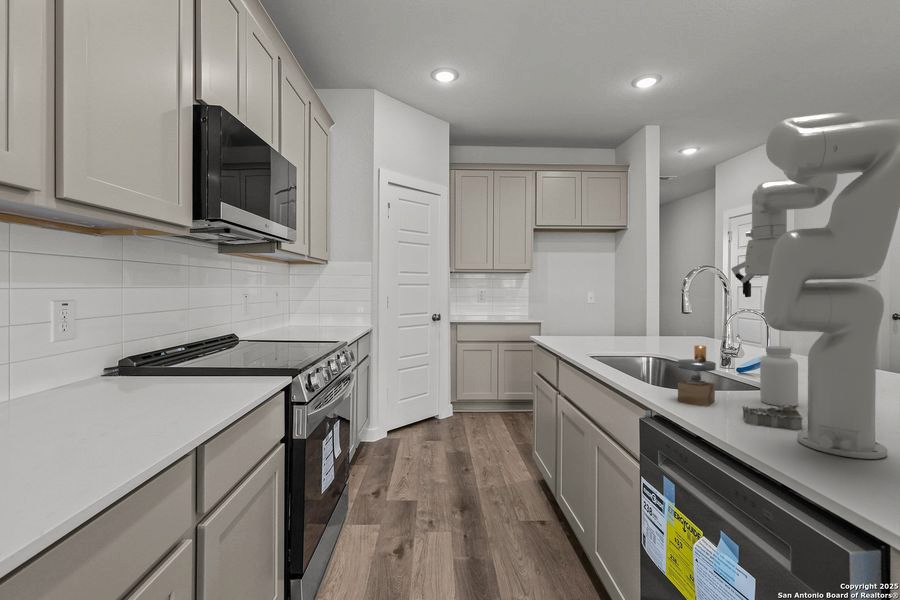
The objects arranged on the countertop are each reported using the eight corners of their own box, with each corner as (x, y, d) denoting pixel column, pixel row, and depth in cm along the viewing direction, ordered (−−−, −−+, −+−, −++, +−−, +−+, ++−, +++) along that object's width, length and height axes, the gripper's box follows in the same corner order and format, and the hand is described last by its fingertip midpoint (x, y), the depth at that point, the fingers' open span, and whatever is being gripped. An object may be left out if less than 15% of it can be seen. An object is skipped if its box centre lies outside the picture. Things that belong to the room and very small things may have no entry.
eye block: (706, 406, 110) (706, 385, 110) (677, 401, 115) (677, 381, 115) (714, 401, 115) (714, 381, 115) (686, 396, 120) (686, 377, 120)
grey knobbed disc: (710, 384, 108) (710, 350, 108) (672, 379, 115) (672, 347, 115) (720, 379, 115) (720, 346, 115) (684, 374, 122) (684, 344, 122)
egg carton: (798, 423, 96) (798, 405, 96) (804, 432, 90) (804, 413, 90) (741, 416, 102) (741, 399, 102) (743, 424, 96) (743, 406, 96)
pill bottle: (753, 401, 114) (753, 346, 114) (770, 398, 118) (771, 344, 117) (787, 408, 107) (787, 349, 107) (804, 404, 110) (804, 347, 110)
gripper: (727, 236, 118) (727, 297, 118) (807, 228, 105) (807, 297, 105) (736, 238, 123) (736, 297, 123) (813, 231, 110) (813, 296, 110)
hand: (769, 297), depth 114 cm, fingers open, 9 cm apart
